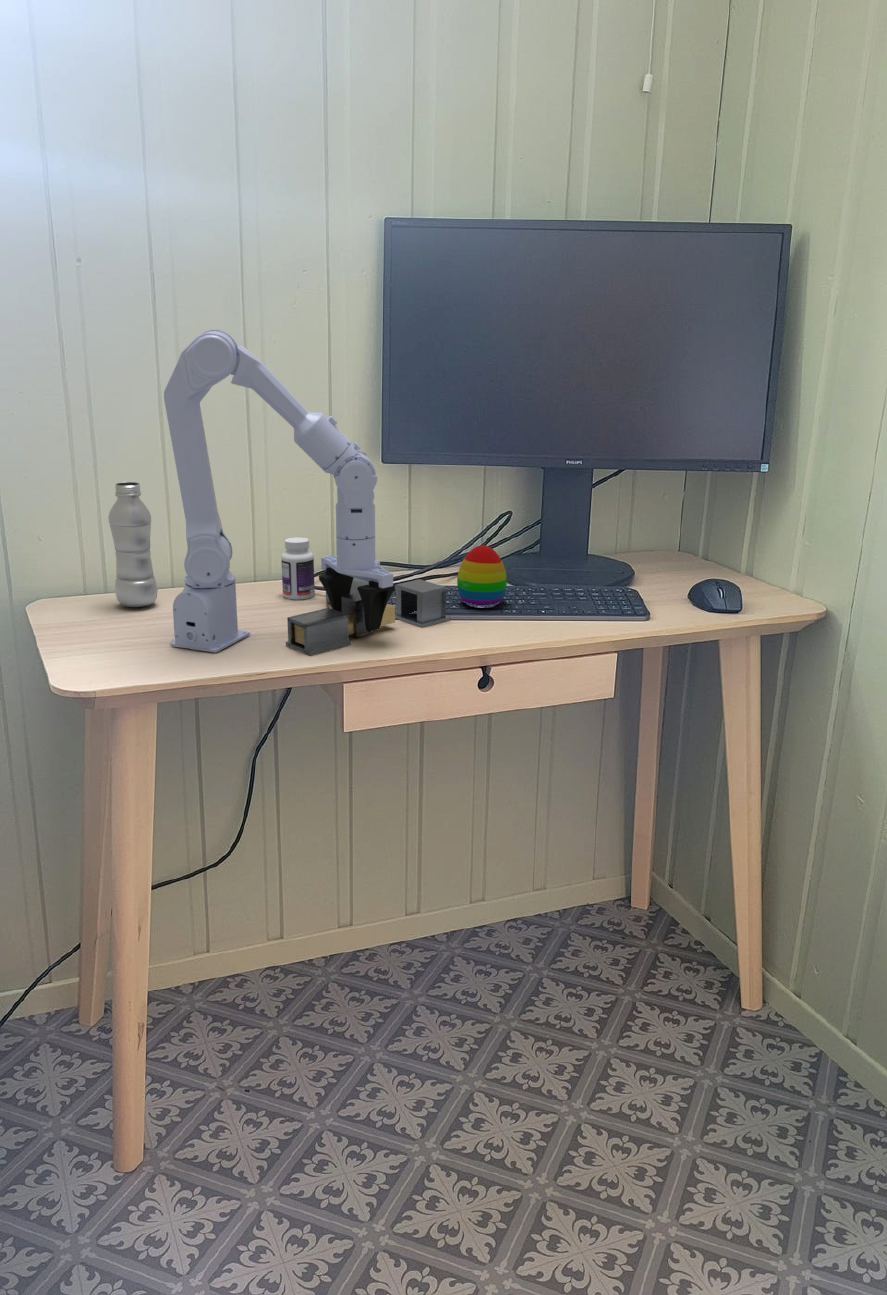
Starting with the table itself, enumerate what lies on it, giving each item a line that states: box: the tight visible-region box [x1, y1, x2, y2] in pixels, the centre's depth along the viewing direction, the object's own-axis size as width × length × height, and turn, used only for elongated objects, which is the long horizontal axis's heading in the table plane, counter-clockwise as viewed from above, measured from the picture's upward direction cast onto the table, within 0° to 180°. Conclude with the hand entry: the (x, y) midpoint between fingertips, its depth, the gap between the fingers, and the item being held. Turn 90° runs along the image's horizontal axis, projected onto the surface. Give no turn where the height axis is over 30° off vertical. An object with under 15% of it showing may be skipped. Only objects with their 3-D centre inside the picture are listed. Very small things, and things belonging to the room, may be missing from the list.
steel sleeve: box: [284, 607, 352, 657], centre depth 159 cm, size 8×6×4 cm
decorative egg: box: [456, 544, 508, 605], centre depth 180 cm, size 8×8×10 cm
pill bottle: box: [281, 536, 316, 601], centre depth 183 cm, size 5×5×10 cm
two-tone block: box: [294, 593, 396, 645], centre depth 162 cm, size 17×3×6 cm, turn 133°
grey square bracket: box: [395, 579, 451, 628], centre depth 172 cm, size 6×7×5 cm
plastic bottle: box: [108, 481, 159, 608], centre depth 174 cm, size 6×7×20 cm
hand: (357, 624), depth 164 cm, fingers open, 7 cm apart
